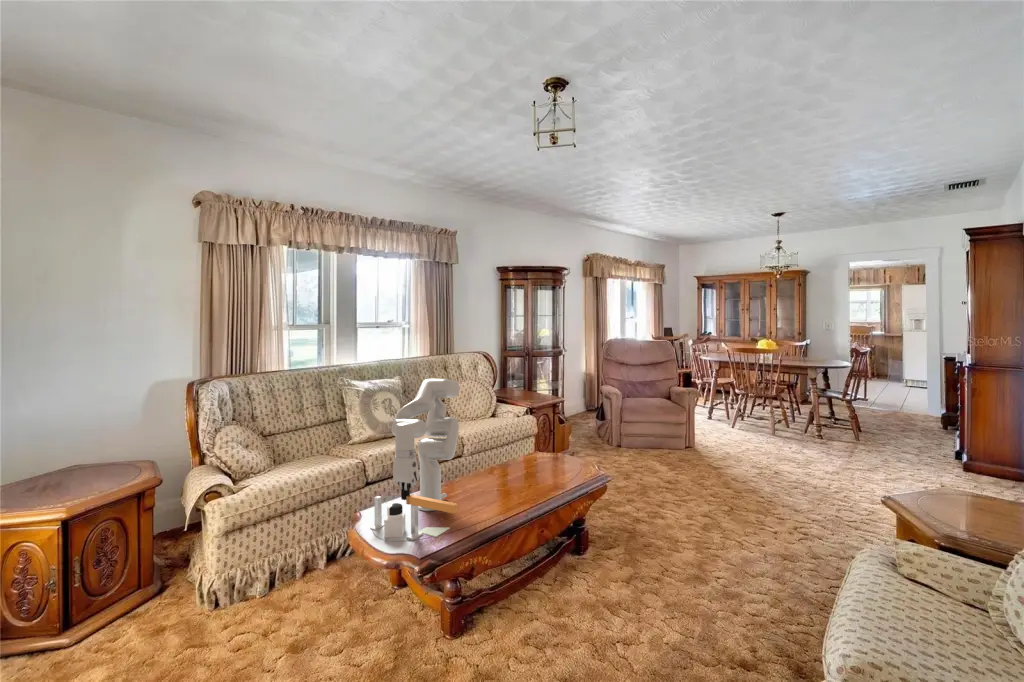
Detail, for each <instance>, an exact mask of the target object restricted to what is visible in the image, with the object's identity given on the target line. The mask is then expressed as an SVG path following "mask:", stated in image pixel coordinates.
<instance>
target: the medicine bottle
mask: <svg viewBox="0 0 1024 682" xmlns="http://www.w3.org/2000/svg"><path fill="white" fill-rule="evenodd" d="M386 512H387V513H386V517H385V519H383V523H384V526H383V532H384V533H383V535H384V536H383V537H384V538H385V539H390V538H391V539H394V538H403V537H404V534H405V533H406V529H407V528H406V513H403V504H401V503H397V502H394V503H390V504H388V505H387V507H386Z"/></svg>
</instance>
